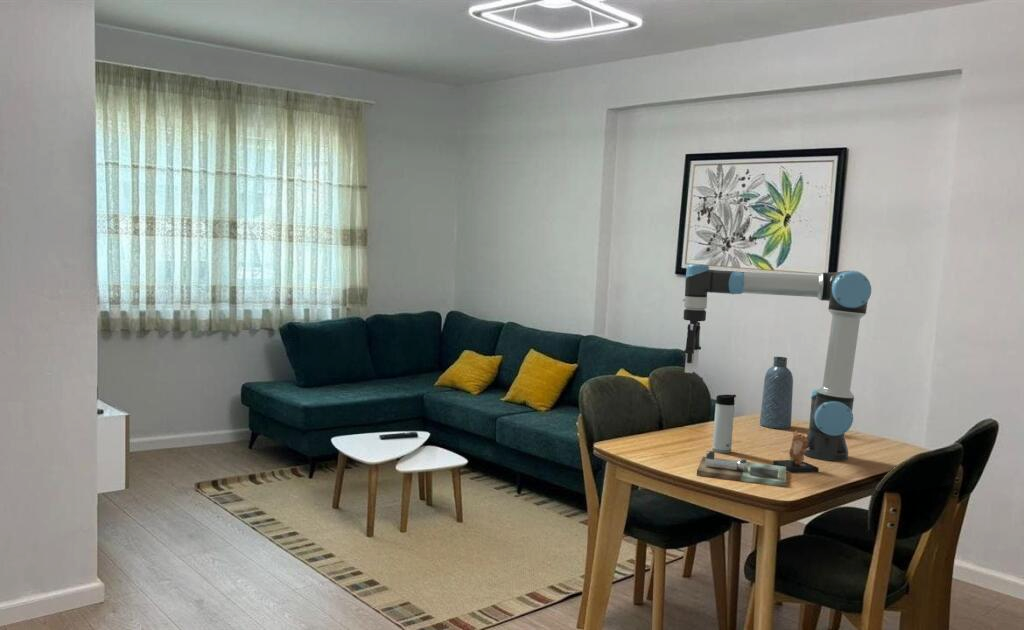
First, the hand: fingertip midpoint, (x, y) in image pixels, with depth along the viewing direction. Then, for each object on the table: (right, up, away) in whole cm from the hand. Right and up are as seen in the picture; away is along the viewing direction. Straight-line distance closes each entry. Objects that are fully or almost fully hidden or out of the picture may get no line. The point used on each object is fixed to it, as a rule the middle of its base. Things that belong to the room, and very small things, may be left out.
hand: (691, 370), depth 292 cm
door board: (+10, -30, -29) cm, 43 cm away
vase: (+45, -26, +51) cm, 73 cm away
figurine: (+30, -31, -18) cm, 47 cm away
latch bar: (+5, -28, -30) cm, 42 cm away
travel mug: (+11, -28, 0) cm, 30 cm away
